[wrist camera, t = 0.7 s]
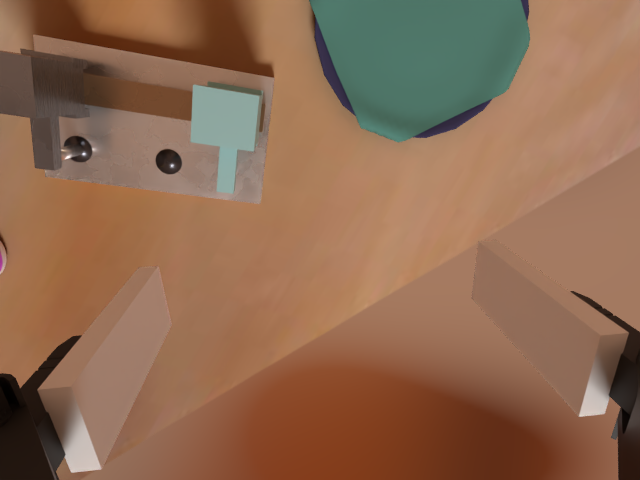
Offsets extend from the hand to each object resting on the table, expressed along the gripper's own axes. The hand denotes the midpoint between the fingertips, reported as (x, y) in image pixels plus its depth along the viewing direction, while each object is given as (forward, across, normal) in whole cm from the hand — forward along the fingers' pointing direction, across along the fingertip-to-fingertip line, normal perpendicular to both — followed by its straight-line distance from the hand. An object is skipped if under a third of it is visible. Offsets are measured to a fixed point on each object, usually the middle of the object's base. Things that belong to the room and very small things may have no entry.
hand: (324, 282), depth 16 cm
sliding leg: (+23, -6, +4) cm, 24 cm away
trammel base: (+25, -13, +5) cm, 28 cm away
